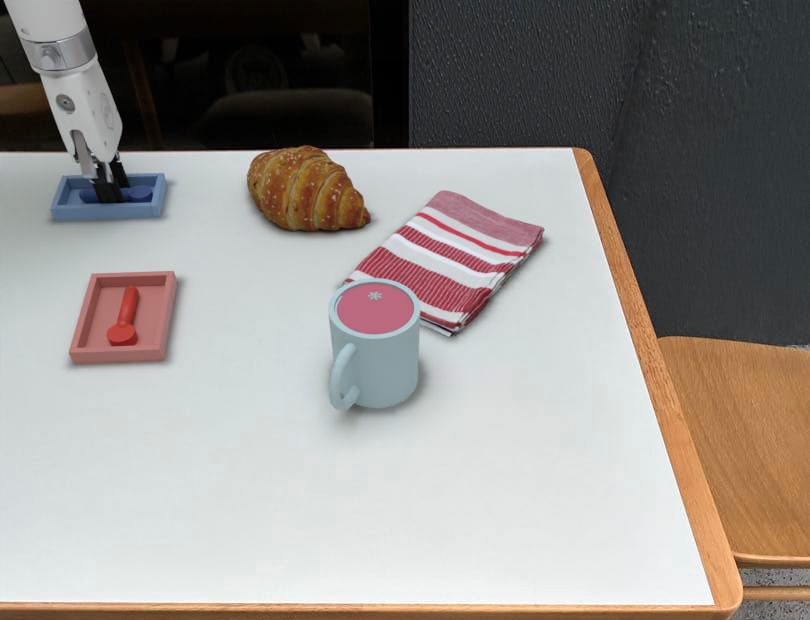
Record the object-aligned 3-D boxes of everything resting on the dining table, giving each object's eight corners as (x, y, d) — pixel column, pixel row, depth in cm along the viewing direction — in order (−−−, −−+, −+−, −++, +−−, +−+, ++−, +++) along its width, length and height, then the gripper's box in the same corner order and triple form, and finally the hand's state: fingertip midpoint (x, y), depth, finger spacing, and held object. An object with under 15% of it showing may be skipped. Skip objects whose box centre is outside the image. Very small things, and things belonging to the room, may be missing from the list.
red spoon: (121, 294, 82) (117, 283, 80) (148, 293, 82) (143, 282, 80) (107, 350, 76) (102, 339, 75) (136, 349, 76) (131, 338, 75)
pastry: (387, 212, 92) (386, 153, 85) (327, 258, 87) (321, 199, 80) (277, 163, 99) (268, 104, 92) (214, 203, 93) (200, 144, 86)
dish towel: (545, 242, 89) (549, 224, 87) (455, 342, 78) (456, 324, 76) (438, 201, 94) (439, 183, 91) (339, 290, 83) (338, 272, 81)
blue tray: (56, 223, 90) (49, 208, 88) (68, 189, 94) (62, 175, 93) (160, 220, 91) (156, 205, 89) (168, 187, 95) (163, 172, 93)
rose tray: (164, 363, 76) (159, 349, 74) (75, 367, 76) (68, 352, 74) (178, 285, 84) (174, 270, 82) (97, 287, 83) (91, 273, 81)
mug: (361, 342, 78) (356, 268, 70) (431, 368, 76) (435, 295, 68) (298, 419, 72) (285, 347, 63) (373, 450, 70) (370, 380, 61)
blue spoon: (79, 208, 91) (74, 196, 90) (84, 194, 93) (79, 183, 91) (152, 206, 91) (148, 194, 90) (155, 192, 93) (152, 181, 92)
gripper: (78, 80, 72) (135, 235, 88) (104, 15, 81) (152, 166, 97) (8, 82, 72) (78, 237, 88) (42, 16, 81) (100, 168, 96)
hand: (116, 199), depth 92 cm, fingers closed on blue tray, 3 cm apart
